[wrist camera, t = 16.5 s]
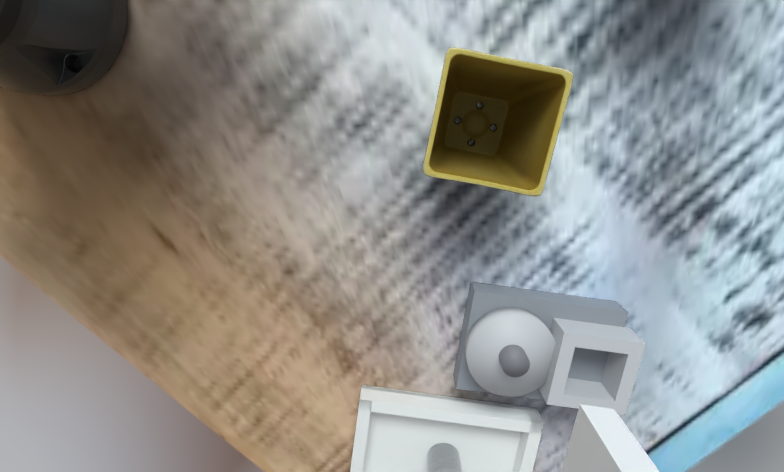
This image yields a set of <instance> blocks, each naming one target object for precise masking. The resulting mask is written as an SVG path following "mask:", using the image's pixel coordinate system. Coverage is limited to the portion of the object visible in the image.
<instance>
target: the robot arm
mask: <svg viewBox="0 0 784 472" xmlns="http://www.w3.org/2000/svg"><path fill="white" fill-rule="evenodd" d="M126 24H127V4H126V0H0V87H2V88H5V89H8V90H12V91H16V92H20V93H26V94H38V95H65V94H70V93H74V92H77V91H80V90H82V89H85V88H86V87H88V86H90V85H92V84H93V83H95V82H96V81H97V80H99V79H100V78H101V77H102V76H103V75H104V74H105V73H106V72H107V71H108V70H109V68H110V67H111V66H112V64H113V63H114V61H115V60H116V58H117V56H118V54H119V52H120V49H121V47H122V44H123V40H124V36H125V31H126ZM561 472H659V470H658V469H657V468H656V466H655V465H654V463H653V462H652V461H651V459H650V458H649V457H648V455H647V454H646V452H645V451H644V450H643V448H642V447H641V446H640V444H639V443H638V441H637V440H636V439H635V437H634V436H633V434H632V433H631V432H630V430H629V429H628V428H627V426H626V425H625V423H624V422H623V421H622V419H621V418H620V416H619V415H618V414H617V412H616V411H615V410H614V409H610V408H603V407H596V406H589V405H582V404H580V405H579V409H578V413H577V416H576V420H575V424H574V427H573V431H572V434H571V438H570V442H569V445H568V449H567V453H566V456H565V460H564V463H563V467H562V471H561Z"/></svg>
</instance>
